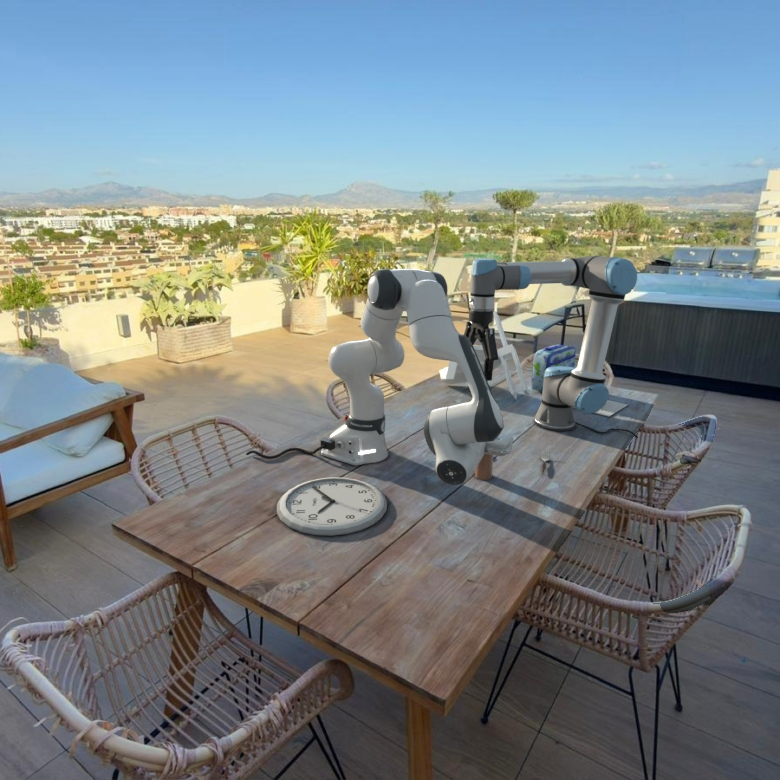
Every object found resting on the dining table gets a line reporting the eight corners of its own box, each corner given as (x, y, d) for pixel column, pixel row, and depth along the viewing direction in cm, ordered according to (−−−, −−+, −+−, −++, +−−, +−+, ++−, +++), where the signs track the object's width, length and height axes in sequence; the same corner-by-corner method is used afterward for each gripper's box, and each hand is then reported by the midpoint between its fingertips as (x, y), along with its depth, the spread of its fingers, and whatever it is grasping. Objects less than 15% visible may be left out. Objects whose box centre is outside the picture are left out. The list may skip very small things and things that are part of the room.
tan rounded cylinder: (489, 481, 158) (493, 429, 153) (472, 477, 160) (476, 426, 155) (493, 474, 162) (497, 423, 157) (477, 471, 164) (481, 421, 159)
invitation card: (608, 416, 214) (573, 407, 224) (608, 416, 214) (573, 408, 224) (628, 404, 229) (594, 396, 238) (628, 405, 229) (594, 397, 238)
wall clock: (392, 527, 129) (268, 531, 127) (391, 533, 130) (269, 537, 127) (383, 473, 158) (282, 475, 155) (383, 478, 158) (282, 480, 156)
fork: (538, 474, 162) (538, 468, 162) (542, 454, 177) (542, 449, 176) (546, 475, 162) (547, 470, 161) (550, 455, 176) (550, 450, 175)
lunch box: (547, 397, 237) (552, 352, 231) (526, 391, 245) (531, 348, 238) (574, 386, 255) (580, 344, 249) (554, 381, 262) (559, 340, 256)
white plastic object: (461, 429, 252) (437, 405, 227) (444, 352, 274) (420, 323, 250) (535, 404, 240) (518, 377, 215) (510, 326, 262) (492, 293, 237)
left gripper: (509, 443, 129) (518, 424, 141) (430, 430, 136) (445, 413, 148) (507, 466, 130) (516, 446, 143) (429, 452, 138) (444, 434, 150)
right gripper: (452, 304, 174) (449, 366, 180) (491, 316, 151) (486, 386, 158) (472, 303, 176) (468, 364, 182) (513, 315, 154) (507, 384, 160)
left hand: (479, 429), depth 145 cm, fingers open, 8 cm apart
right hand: (476, 374), depth 170 cm, fingers open, 13 cm apart
